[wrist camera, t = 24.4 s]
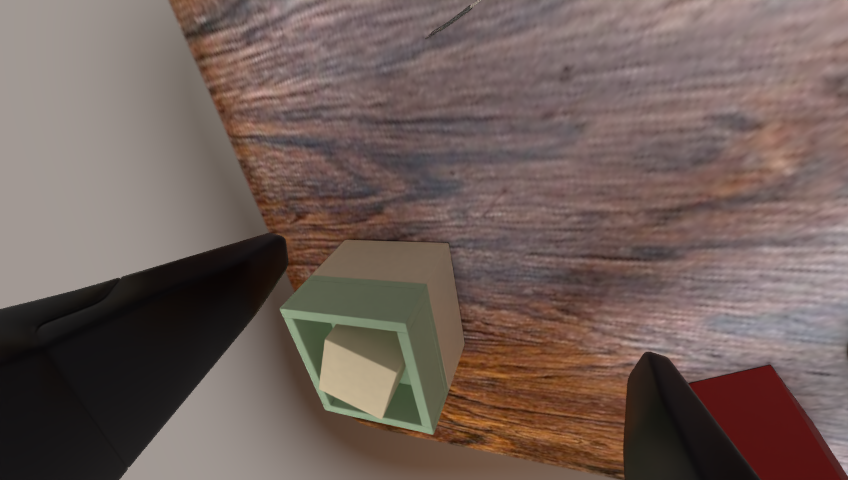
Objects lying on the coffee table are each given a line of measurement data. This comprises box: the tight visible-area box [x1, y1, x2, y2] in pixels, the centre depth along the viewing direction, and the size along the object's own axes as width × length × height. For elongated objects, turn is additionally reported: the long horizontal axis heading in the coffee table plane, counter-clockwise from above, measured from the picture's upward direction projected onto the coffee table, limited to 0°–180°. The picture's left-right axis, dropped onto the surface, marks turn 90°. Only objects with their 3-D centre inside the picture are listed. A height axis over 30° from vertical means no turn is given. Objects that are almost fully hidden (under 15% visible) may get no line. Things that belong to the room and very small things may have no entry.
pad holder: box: [280, 240, 465, 434], centre depth 24 cm, size 8×7×7 cm
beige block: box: [319, 324, 406, 420], centre depth 22 cm, size 5×4×3 cm
